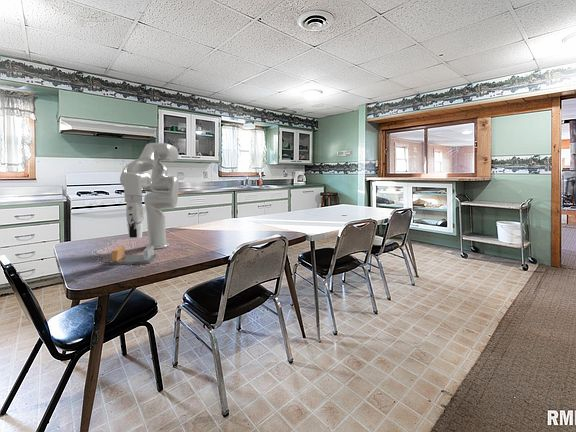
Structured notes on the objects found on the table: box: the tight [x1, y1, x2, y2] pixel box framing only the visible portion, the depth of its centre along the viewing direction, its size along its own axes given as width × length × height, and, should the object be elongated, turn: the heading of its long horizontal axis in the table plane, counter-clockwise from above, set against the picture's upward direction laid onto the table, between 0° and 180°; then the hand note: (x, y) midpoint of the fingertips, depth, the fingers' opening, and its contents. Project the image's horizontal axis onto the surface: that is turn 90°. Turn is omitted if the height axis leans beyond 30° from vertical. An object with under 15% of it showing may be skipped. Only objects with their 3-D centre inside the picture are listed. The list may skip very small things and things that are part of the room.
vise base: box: [108, 246, 158, 266], centre depth 151 cm, size 18×12×6 cm, turn 98°
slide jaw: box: [111, 245, 126, 262], centre depth 150 cm, size 2×10×5 cm, turn 8°
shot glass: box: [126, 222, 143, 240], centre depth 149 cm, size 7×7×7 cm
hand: (135, 235), depth 149 cm, fingers closed on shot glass, 5 cm apart
